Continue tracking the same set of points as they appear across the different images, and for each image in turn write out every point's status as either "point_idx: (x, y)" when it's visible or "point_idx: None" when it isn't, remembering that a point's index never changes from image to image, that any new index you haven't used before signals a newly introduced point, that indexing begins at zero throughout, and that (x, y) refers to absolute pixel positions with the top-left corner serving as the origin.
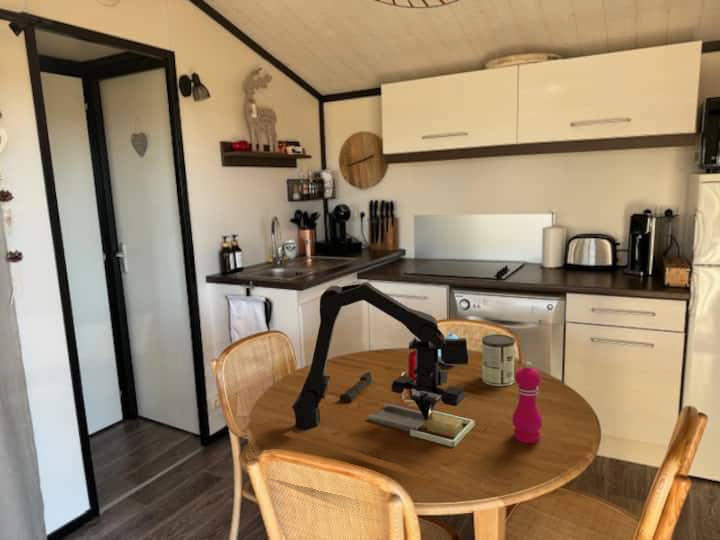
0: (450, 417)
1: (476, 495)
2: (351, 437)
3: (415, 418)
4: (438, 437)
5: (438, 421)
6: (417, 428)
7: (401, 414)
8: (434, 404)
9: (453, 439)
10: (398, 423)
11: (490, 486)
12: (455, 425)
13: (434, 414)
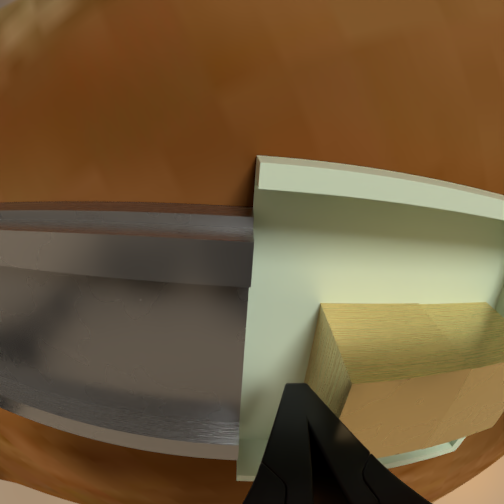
0: (486, 373)
1: (460, 483)
2: (47, 453)
3: (142, 295)
4: (394, 465)
5: (404, 451)
6: (238, 409)
7: (29, 276)
8: (398, 496)
9: (456, 441)
10: (129, 445)
11: (492, 455)
12: (492, 424)
13: (364, 403)
